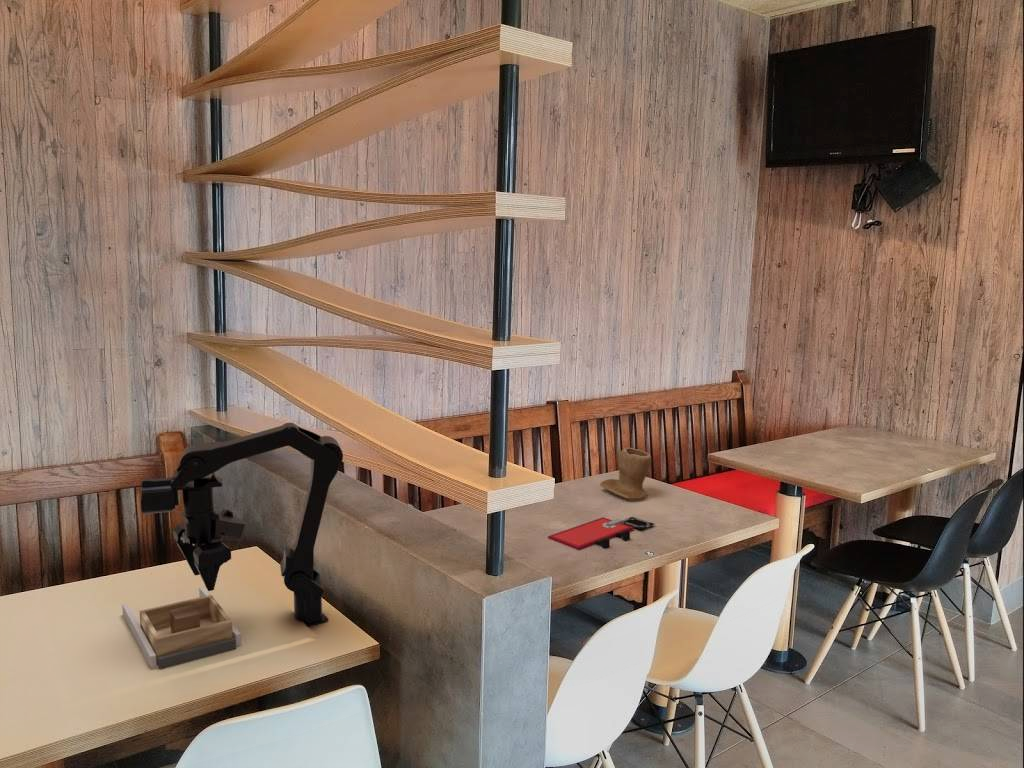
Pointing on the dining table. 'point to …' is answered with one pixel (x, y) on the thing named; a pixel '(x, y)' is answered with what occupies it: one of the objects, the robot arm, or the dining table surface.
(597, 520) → the red board with handle
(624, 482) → the brown boot
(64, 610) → the dining table surface
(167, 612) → the crate
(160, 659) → the bay
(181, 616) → the block
